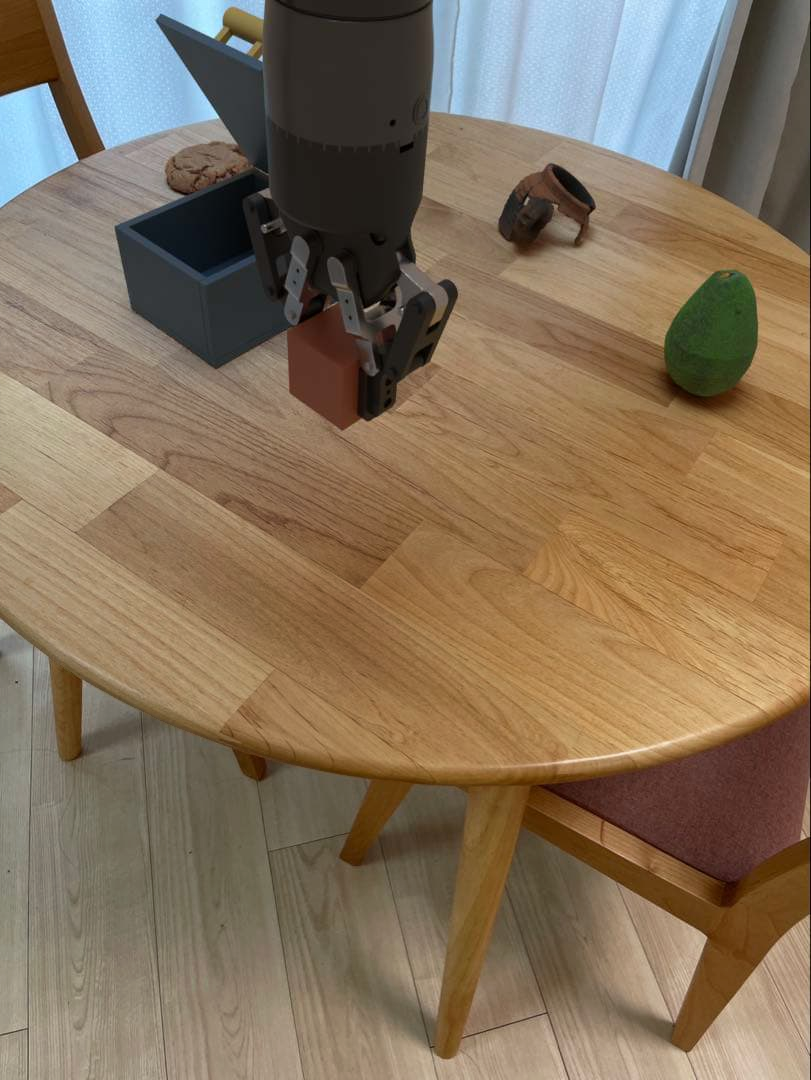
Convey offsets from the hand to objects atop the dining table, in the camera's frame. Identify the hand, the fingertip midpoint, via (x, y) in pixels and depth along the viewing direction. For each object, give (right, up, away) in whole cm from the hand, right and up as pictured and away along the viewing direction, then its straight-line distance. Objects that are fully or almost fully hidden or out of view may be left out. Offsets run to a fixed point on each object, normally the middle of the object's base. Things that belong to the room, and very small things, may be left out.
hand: (343, 390), depth 53 cm
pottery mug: (+19, +26, +47) cm, 57 cm away
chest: (-13, +15, +35) cm, 40 cm away
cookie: (-19, +34, +51) cm, 64 cm away
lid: (-9, +28, +24) cm, 38 cm away
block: (0, 0, 0) cm, 0 cm away
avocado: (+31, +6, +31) cm, 44 cm away
